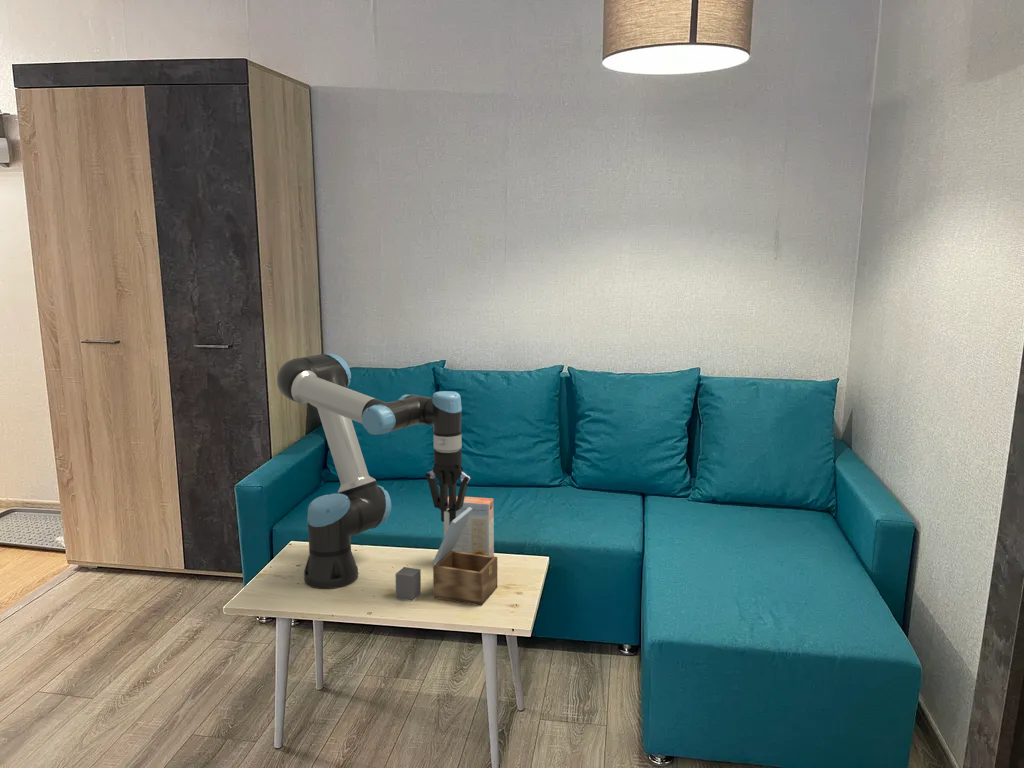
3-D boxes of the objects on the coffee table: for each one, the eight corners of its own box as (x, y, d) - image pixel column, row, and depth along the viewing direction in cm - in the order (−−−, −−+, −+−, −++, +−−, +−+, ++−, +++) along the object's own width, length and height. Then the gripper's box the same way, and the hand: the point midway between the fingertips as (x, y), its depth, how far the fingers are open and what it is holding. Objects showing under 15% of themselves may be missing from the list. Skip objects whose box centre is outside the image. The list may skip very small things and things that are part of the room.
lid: (435, 564, 214) (432, 562, 214) (454, 547, 225) (451, 545, 226) (454, 523, 210) (451, 521, 210) (472, 508, 222) (469, 506, 222)
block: (396, 598, 216) (395, 573, 215) (404, 590, 221) (404, 566, 219) (412, 601, 214) (412, 576, 213) (420, 593, 219) (420, 569, 218)
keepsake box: (432, 597, 216) (432, 566, 215) (450, 580, 227) (450, 550, 226) (482, 605, 212) (482, 573, 210) (498, 587, 223) (498, 557, 221)
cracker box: (494, 564, 239) (494, 497, 235) (489, 572, 233) (489, 504, 229) (449, 560, 242) (449, 494, 238) (443, 568, 236) (442, 500, 232)
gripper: (419, 450, 213) (421, 535, 217) (464, 454, 208) (465, 540, 212) (431, 444, 220) (432, 526, 224) (475, 448, 215) (475, 531, 219)
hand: (448, 533), depth 218 cm, fingers closed
